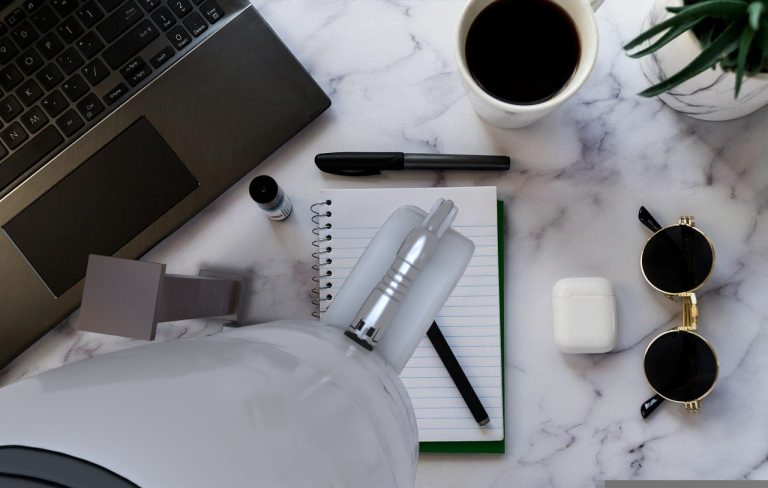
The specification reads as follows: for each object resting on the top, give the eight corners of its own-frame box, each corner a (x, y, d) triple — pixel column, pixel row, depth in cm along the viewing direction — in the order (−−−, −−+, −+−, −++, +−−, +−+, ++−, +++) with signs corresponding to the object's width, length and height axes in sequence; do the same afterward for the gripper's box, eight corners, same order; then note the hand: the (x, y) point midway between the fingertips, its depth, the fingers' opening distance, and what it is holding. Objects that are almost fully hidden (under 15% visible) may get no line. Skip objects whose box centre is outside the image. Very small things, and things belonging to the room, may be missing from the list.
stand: (244, 325, 68) (150, 341, 46) (193, 317, 68) (76, 330, 46) (252, 272, 68) (162, 263, 46) (201, 265, 69) (89, 253, 47)
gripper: (374, 144, 22) (400, 200, 36) (49, 650, 22) (201, 511, 35) (533, 241, 21) (497, 261, 35) (199, 767, 21) (295, 579, 35)
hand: (346, 389), depth 35 cm, fingers open, 8 cm apart
